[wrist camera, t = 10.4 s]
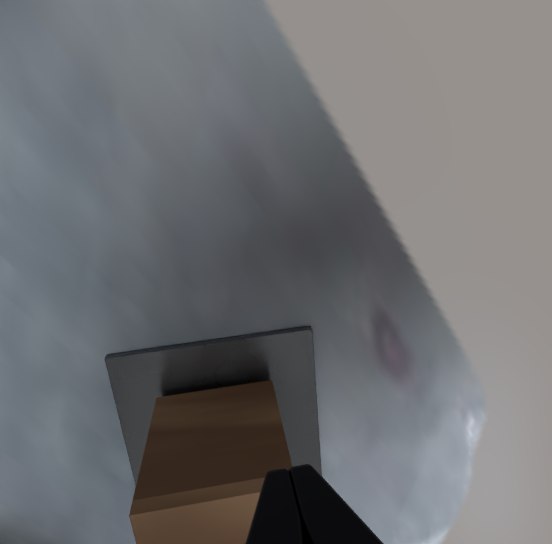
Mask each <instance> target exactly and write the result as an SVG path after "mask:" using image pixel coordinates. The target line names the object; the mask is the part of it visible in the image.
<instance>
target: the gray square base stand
mask: <svg viewBox="0 0 552 544" xmlns="http://www.w3.org/2000/svg"><path fill="white" fill-rule="evenodd" d="M105 362H106V366H107V370H108V374H109V378H110V383H111V387H112V391H113V395H114V399H115V403H116V407H117V411H118V415H119V419H120V423H121V427H122V432H123V436H124V440H125V444H126V448H127V452H128V456H129V460H130V464H131V468H132V472H133V476H134V481H135V485H136V484H137V480H138V476H139V471H140V467H141V463H142V458H143V454H144V450H145V445H146V441H147V437H148V432H149V428H150V424H151V419H152V415H153V411H154V406H155V402H156V398H157V397H163V396H170V395H177V394H183V393H190V392H196V391H203V390H210V389H216V388H223V387H230V386H236V385H243V384H249V383H256V382H263V381H269V380H272V382H273V386H274V391H275V395H276V399H277V403H278V408H279V412H280V416H281V420H282V424H283V429H284V433H285V437H286V441H287V446H288V450H289V454H290V458H291V463H292V466H298V465H303V464H310V465H312V466H313V467H314V469H315V470H316V471H317V472H318V473H319V474H320V475H321V476H322V474H321V459H320V443H319V428H318V412H317V397H316V381H315V366H314V350H313V335H312V328H311V326H307V327H300V328H293V329H286V330H279V331H272V332H265V333H258V334H250V335H243V336H236V337H229V338H222V339H215V340H208V341H201V342H194V343H187V344H179V345H172V346H165V347H158V348H151V349H144V350H137V351H130V352H123V353H116V354H109V355H106V357H105Z"/></svg>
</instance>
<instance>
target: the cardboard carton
mask: <svg viewBox="0 0 552 544" xmlns="http://www.w3.org/2000/svg"><path fill="white" fill-rule="evenodd" d="M291 467H292V463H291V458H290V454H289V450H288V446H287V441H286V437H285V433H284V429H283V424H282V420H281V416H280V412H279V408H278V403H277V399H276V395H275V391H274V386H273V382H272V380H269V381H263V382H256V383H249V384H243V385H236V386H230V387H223V388H216V389H210V390H203V391H196V392H190V393H183V394H177V395H170V396H163V397H157V398H156V402H155V406H154V411H153V415H152V419H151V424H150V428H149V432H148V437H147V441H146V445H145V450H144V454H143V458H142V463H141V467H140V471H139V476H138V480H137V484H136V489H135V493H134V497H133V502H132V506H131V510H130V515H129V517H130V520H131V524H132V528H133V532H134V536H135V540H136V544H245V543H246V540H247V537H248V533H249V530H250V526H251V523H252V519H253V516H254V513H255V509H256V506H257V502H258V499H259V496H260V492H261V489H262V485H263V482H264V479H265V475H266V473H267V472H268V471H270V470H275V469H281V468H287V469H288V470H289V469H290V468H291Z"/></svg>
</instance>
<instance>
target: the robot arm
mask: <svg viewBox="0 0 552 544" xmlns="http://www.w3.org/2000/svg"><path fill="white" fill-rule="evenodd" d="M245 544H383V543H382V541H381V540H380V539H379V538H378V537H377V536H376V535H375V534H374V533H373V532H372V531H371V530H370V528H369V527H368V526H367V525H366V524H365V523H364V522H363V521H362V520H361V519H360V518H359V516H358V515H357V514H356V513H355V512H354V511H353V510H352V509H351V508H350V507H349V506H348V504H347V503H346V502H345V501H344V500H343V499H342V498H341V497H340V496H339V495H338V494H337V492H336V491H335V490H334V489H333V488H332V487H331V486H330V485H329V484H328V483H327V482H326V481H325V479H324V478H323V477H322V476H321V475H320V474H319V473H318V472H317V471H316V470H315V469H314V467H313V466H312V465H310V464H303V465H298V466H292V467H291V468H290V469H289V470H288V469H287V468H281V469H275V470H270V471H268V472H267V473H266V475H265V479H264V482H263V485H262V489H261V492H260V496H259V499H258V502H257V506H256V509H255V513H254V516H253V519H252V523H251V526H250V530H249V533H248V537H247V540H246V543H245Z"/></svg>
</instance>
